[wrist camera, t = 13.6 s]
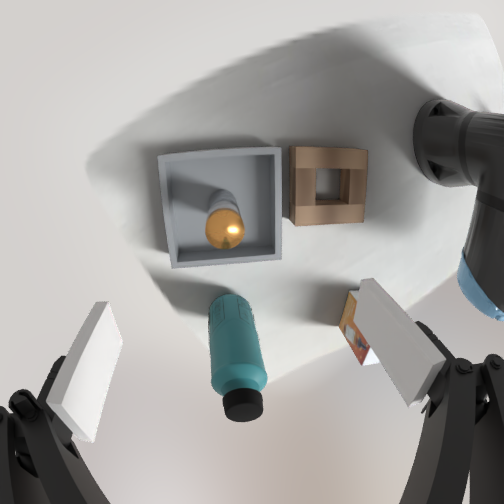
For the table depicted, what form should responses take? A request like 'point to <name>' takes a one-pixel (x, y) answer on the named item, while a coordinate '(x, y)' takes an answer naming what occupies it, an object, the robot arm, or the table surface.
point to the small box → (356, 332)
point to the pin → (224, 221)
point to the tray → (214, 179)
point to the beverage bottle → (236, 358)
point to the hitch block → (304, 185)
